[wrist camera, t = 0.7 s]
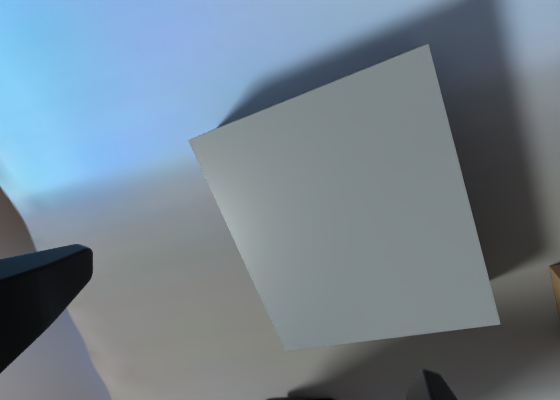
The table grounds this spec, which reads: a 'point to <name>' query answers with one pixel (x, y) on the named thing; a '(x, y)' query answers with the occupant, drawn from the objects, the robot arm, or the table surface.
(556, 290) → the walnut block
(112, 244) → the table surface
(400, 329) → the slate box
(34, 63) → the table surface
